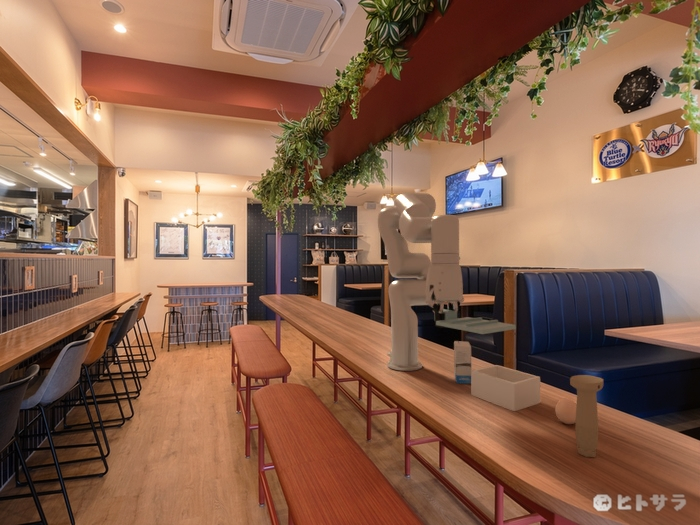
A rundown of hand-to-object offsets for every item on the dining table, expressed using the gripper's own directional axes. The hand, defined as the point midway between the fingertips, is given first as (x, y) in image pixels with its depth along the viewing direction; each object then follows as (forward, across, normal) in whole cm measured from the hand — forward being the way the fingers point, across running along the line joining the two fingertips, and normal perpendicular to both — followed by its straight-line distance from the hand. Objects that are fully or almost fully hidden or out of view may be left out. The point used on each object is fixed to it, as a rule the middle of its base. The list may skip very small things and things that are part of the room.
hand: (445, 326), depth 106 cm
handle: (+21, -2, +36) cm, 42 cm away
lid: (-1, 0, +8) cm, 8 cm away
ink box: (+21, -18, -10) cm, 29 cm away
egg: (+21, -14, +26) cm, 36 cm away
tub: (+21, -14, +8) cm, 26 cm away
